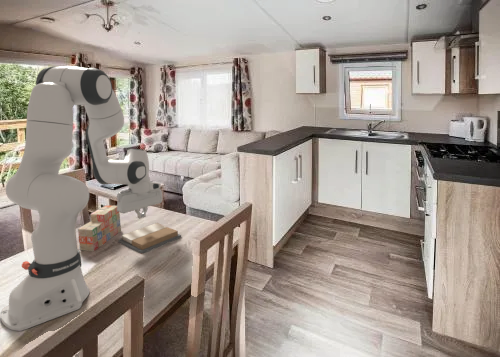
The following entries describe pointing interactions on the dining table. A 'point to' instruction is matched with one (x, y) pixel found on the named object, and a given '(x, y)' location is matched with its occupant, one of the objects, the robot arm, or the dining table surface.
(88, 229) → the stack of blocks
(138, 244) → the board
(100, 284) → the dining table surface
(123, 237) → the ash plank
